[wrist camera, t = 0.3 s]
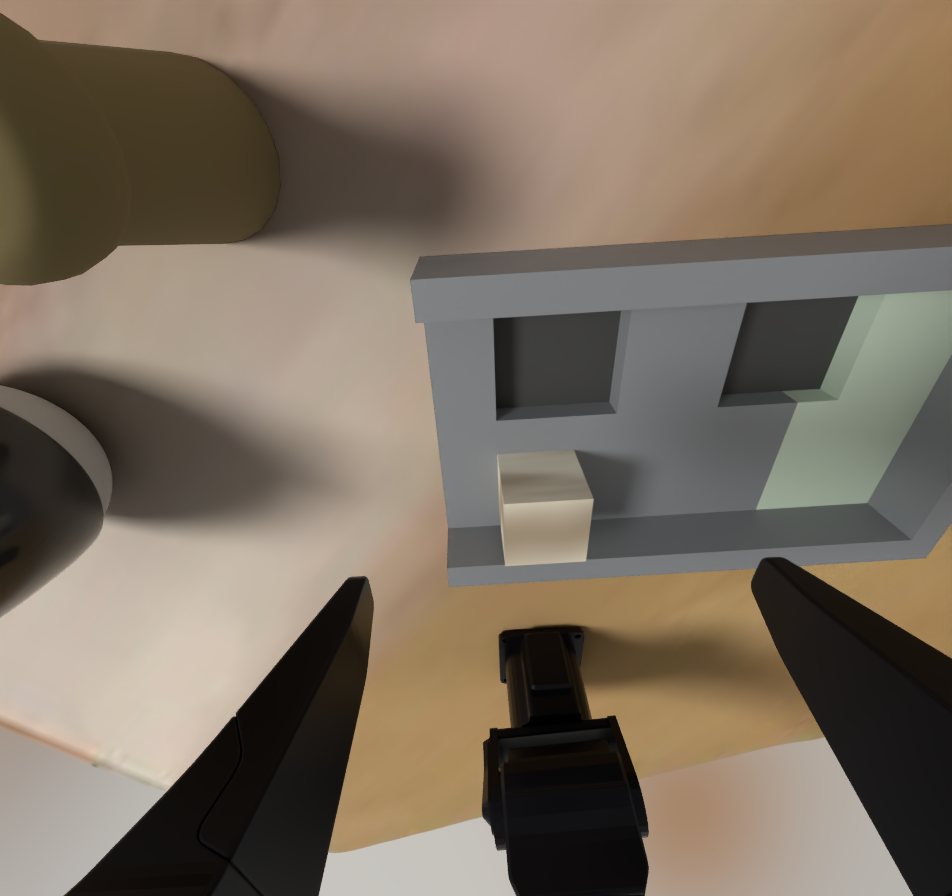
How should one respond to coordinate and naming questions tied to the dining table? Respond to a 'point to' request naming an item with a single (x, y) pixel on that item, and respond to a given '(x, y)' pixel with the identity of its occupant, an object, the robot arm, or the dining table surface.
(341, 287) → the dining table surface
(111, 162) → the cork
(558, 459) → the birch block
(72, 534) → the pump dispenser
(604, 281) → the box
